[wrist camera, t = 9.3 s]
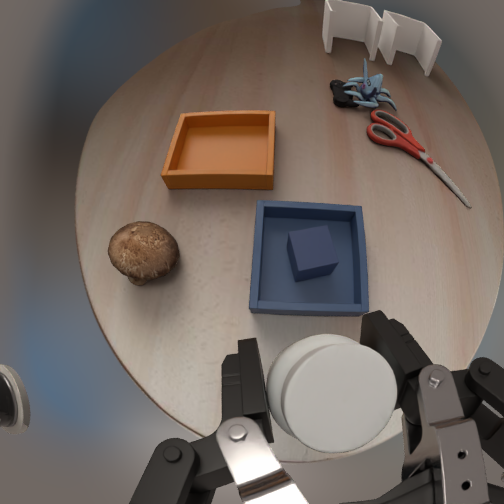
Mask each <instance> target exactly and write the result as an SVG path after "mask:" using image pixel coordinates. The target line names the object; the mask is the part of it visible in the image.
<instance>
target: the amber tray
mask: <svg viewBox="0 0 504 504" xmlns="http://www.w3.org/2000/svg"><path fill="white" fill-rule="evenodd" d="M274 150H275V111H258V110H245V111H212V112H196V113H184V114H181V116H180V118H179V121H178V124H177V127H176V130H175V133H174V136H173V138H172V141H171V144H170V148H169V151H168V154H167V157H166V160H165V163H164V167H163V170H162V173H161V177H162V179H163V180H164V182H165V184H166V186H167V188H168V189H265V190H273V176H274Z"/></svg>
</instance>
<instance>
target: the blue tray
mask: <svg viewBox="0 0 504 504" xmlns="http://www.w3.org/2000/svg"><path fill="white" fill-rule="evenodd" d="M324 225H328V228H329V231H330V234H331V237H332V240H333V244H334V247H335V250H336V253H337V257H338V260H339V263H338V265H337V266H336V268H335V269H334V270H333V272H332V273H331V274H330V275H326V276H322V277H317V278H313V279H308V280H304V281H299V282H295V281H294V277H293V272H292V268H291V264H290V260H289V256H288V252H287V248H286V247H287V240H288V233H289V232H293V231H298V230H303V229H309V228H314V227H319V226H324ZM249 309H250V311H251V313H260V314H279V315H304V316H361V315H363V314H365V313H367V312H369V296H368V272H367V256H366V243H365V232H364V223H363V214H362V206H353V205H340V204H325V203H309V202H291V201H268V200H265V201H264V200H257V208H256V221H255V234H254V247H253V260H252V273H251V286H250V300H249Z"/></svg>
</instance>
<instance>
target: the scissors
mask: <svg viewBox="0 0 504 504" xmlns="http://www.w3.org/2000/svg"><path fill="white" fill-rule="evenodd" d="M377 116H382V117H385V118H387V119H389V120H390V121H392V122H394V123H395V124H397V125H398V126H399V127H400V128H401V129H403V130H404V132H405V133H403V132H401V131H400V130H399V129H398V128H396V127H395V126H393V125H392V124H390V123H389V122H387V121H385V120H383V119H381V118H379V117H377ZM371 119H372V120H373V121H374V122H375V123H372V124H370V125H369V126H368V127H367V134H368V136H369V137H370V139H372V140H373V141H374V142H376V143H379V144H382V145H386V146H395V147H399V148H401V149H403V150H405V151H406V152H408V153H409V154H411V155H412V156H413V157H415V158H416V159H420V158H421V159H422V161H423V162H425V163H426V164H427V165H428V166H429V168H430V169H432V170H433V171H434V172H435V173H436V174H437V175H438V176H439V177H440V178H441V179H442V180H443V181H444V183H445V184H447V186H448V187H449V188H450V189H451V190H452V191H453V192H454V193H455V194H456V195H457V196H458V197H459V198H460V199H461V201H462V202H463V203H464V204H465V205H466V206H467V207H469V208H472V207H471V205H470V204H469V202H468V201H467V199H466V198H465V197H464V195H463V194H462V193H461V191H460V190H459V189H458V187H457V186H456V185H455V184H454V183H453V181H452V180H451V179H450V178H449V177H448V176H447V174H446V173H445V172H444V171H443V170H442V169H441V168H440V167H439V166H438V165H437V164H436V163H435V162H434V160H433V159H432V158H431V157H430V156H428V155H427V154H425V149H424V148H423V147H422V146H421V145H420V144H419V143H418V142H417V141H416V140H415V139H414V137H413V136H412V133H411V130H410V129H409V127H408V126H407V125H406V124H405V123H403V122H402V121H401V120H400V119H398V118H397V117H395V116H393V115H392V114H390V113H388V112H386V111H383V110H374V111H372V113H371ZM374 129H376V130H380V131H383V132H384V133H386V134H387V135H389V136H390V137H391V138H392V139H385V138H381V137H379V136H377V135H376V134H374V132H373V130H374Z"/></svg>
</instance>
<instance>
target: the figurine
mask: <svg viewBox="0 0 504 504" xmlns="http://www.w3.org/2000/svg"><path fill="white" fill-rule="evenodd" d="M363 73H364V78H362V77H356V78H351V79H349V80H347V81H351V82H349V83H345V82H342V81H340V80H332V81H331V82H330V88H331V89H332V90H333V94H334V97H333V101H334V103H335V104H336V105H337V106H339V107H346V106H349V107H358V106H359V105H362V106H365V107H369V108H377V107H378V105H379V104H378V103H377V101H378V102H387V103H389V104H390V105H391V106H392V107H393V108H394V109H395V110H396V111H397V109H396V106H395V104H394V102H393V101H392V100H391V99H389V98H387V97H384V96H381V95H379V94H380V93H384V94H386V95H387V96H389V97H390V98H391V96H390V93H389V92H388V90H386V89H384V88H381V86H382V79H383V75H382V74H377V75H375V76H373V77H370V78H368V74H367V63H366V60H365V59H364V66H363ZM356 82H359V83H363V84H362V85H361V86H360V87H359V86H358V84H357V83H356ZM353 86H355V87H356V90H357V92H355V91H351V88H352V87H353ZM353 95H354V96H356V97H358V98H359V100H360V101H353V100H352V99H353ZM363 97H364V98H363ZM367 101H369V102H367Z"/></svg>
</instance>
